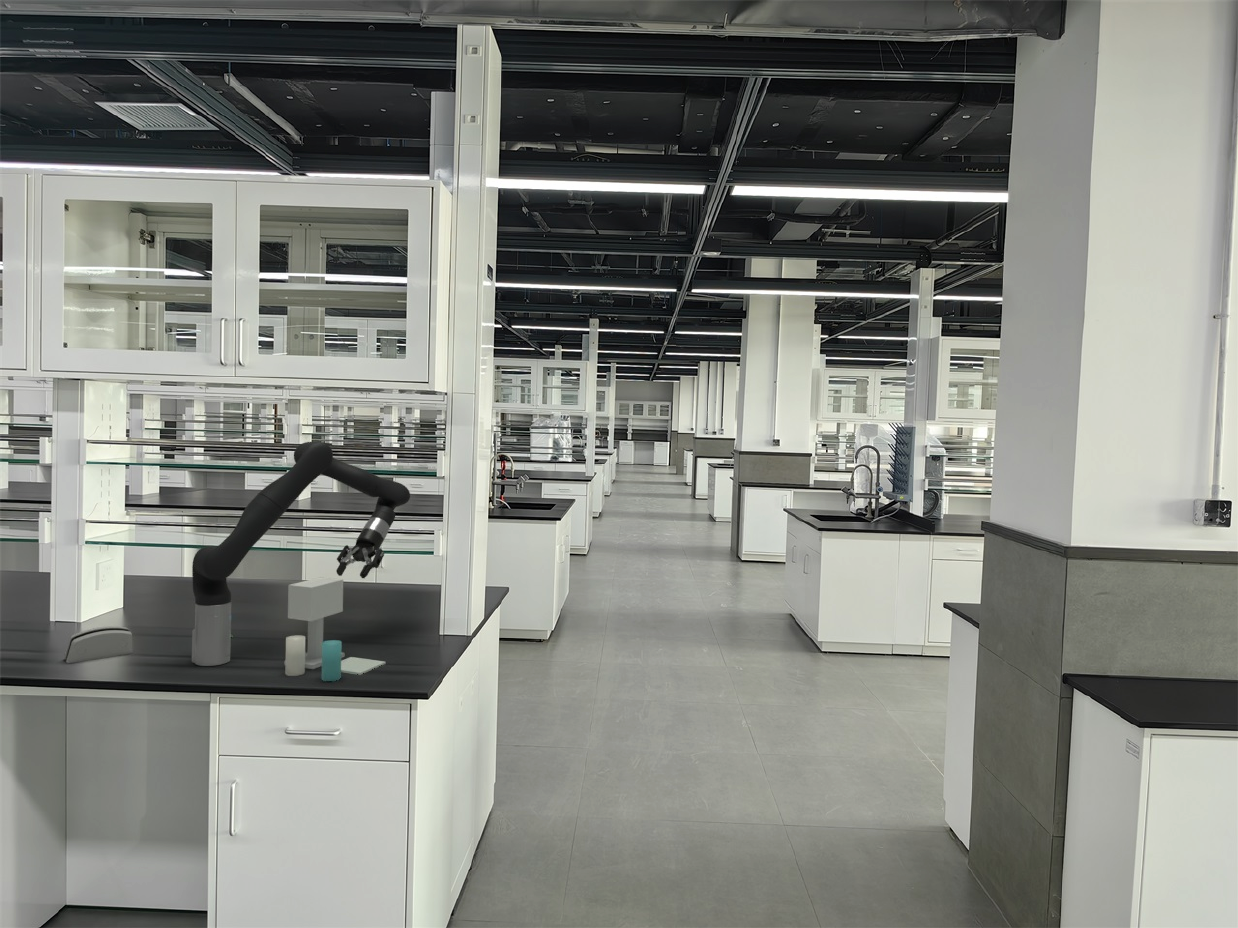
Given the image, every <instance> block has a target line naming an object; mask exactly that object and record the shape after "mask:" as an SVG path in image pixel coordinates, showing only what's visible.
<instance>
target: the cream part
mask: <svg viewBox="0 0 1238 928" xmlns="http://www.w3.org/2000/svg"><path fill="white" fill-rule="evenodd" d="M305 653H306V636H305V635H301V634H299V635H298V634H297V635H295V634H294V635H290V636H289V635H288V636H286V637H285V660H286V665H284V666H285V669H284V670H285V671H284V674H285V676H289V677H297V676H301V675H304V674H305V672H306V668H305Z"/></svg>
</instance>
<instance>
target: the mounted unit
mask: <svg viewBox="0 0 1238 928" xmlns="http://www.w3.org/2000/svg"><path fill="white" fill-rule="evenodd" d="M287 595H288V596H287V597H288V598H287V600H288V601H287V619H289V620H290V619H291V620H299V621H307V652H305V669H309V670H315V669H317V668H319V667H322V642H324V618H326V617H329V616H333V615H337V614H339V613H342V612H344V607H343V606H344V579H341V578H332V577H324V576H323V577H321V576H320V577H317V578H312V579H308V580H303V581H300V582H295V583H292V584H288V592H287ZM342 658H346V655H345V652H343V651H341V659H342ZM283 664H284V666H286V659H285V660H284V661H283Z"/></svg>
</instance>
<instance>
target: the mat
mask: <svg viewBox="0 0 1238 928" xmlns="http://www.w3.org/2000/svg"><path fill="white" fill-rule="evenodd" d="M386 662H387V661H383V660H376V659H369V658H361V657H354V656H350V657H347V658H345V659H341V673H343V674H344V673H345V674H351V675H357V674H358V675H357V676H361V675H364V674H366V673H368V672H370V671H373V670H375V669H377V668H379V666H380V667H382V666H384V665H386V664H387V663H386ZM381 665H382V666H381ZM374 668H375V669H374ZM372 669H373V670H372ZM363 673H364V674H363Z"/></svg>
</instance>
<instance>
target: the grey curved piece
mask: <svg viewBox="0 0 1238 928" xmlns="http://www.w3.org/2000/svg"><path fill="white" fill-rule="evenodd" d="M67 644H68V645H67V647H66V650H65V653H64V654H63V655H64V656H63V660H64V661H65V663H66V664H72V663H74V664H75V663H79V662H85V661H92V660H98V659H105V658H110V657H117V656H122V655H123V656H124V655H129V654H133V634H132V632H131V630H130V629H129V628H128V627H124V626H116V625H115V626H114V625H113V626H109V625H108V626H101V627H100V626H99V627H96V628H91V629H86V630H81V631H80V632H77V633H75V634H73V635H71V636H70V637H69V641H68V643H67Z"/></svg>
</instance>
